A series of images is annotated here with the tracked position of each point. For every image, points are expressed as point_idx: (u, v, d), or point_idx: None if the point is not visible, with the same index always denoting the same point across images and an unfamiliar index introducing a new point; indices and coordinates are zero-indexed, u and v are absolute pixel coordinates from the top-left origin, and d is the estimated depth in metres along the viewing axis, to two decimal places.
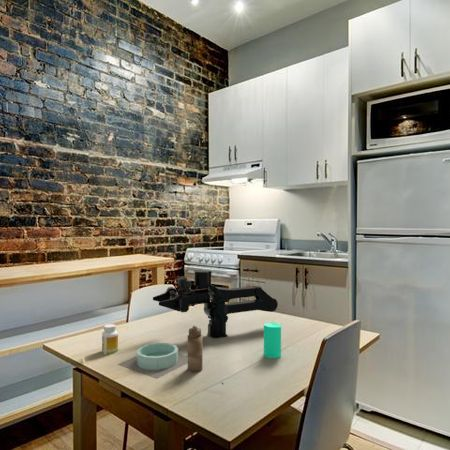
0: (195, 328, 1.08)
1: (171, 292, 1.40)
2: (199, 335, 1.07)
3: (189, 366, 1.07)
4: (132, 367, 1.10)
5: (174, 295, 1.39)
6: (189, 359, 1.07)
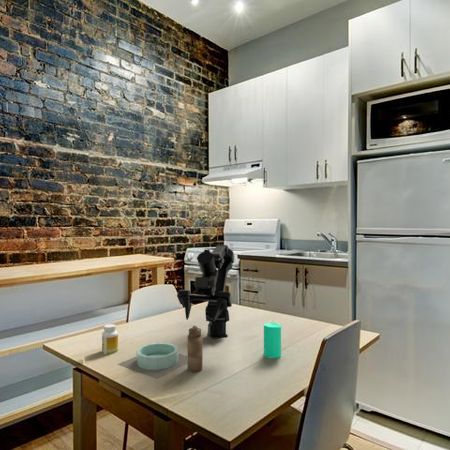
0: (195, 328, 1.08)
1: (188, 296, 1.21)
2: (199, 335, 1.07)
3: (189, 366, 1.07)
4: (132, 367, 1.10)
5: (192, 296, 1.22)
6: (189, 359, 1.07)
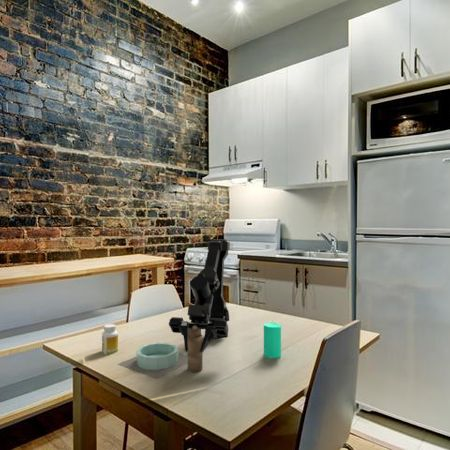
0: (195, 328, 1.08)
1: None
2: (199, 335, 1.07)
3: (189, 366, 1.07)
4: (132, 367, 1.10)
5: None
6: (189, 359, 1.07)
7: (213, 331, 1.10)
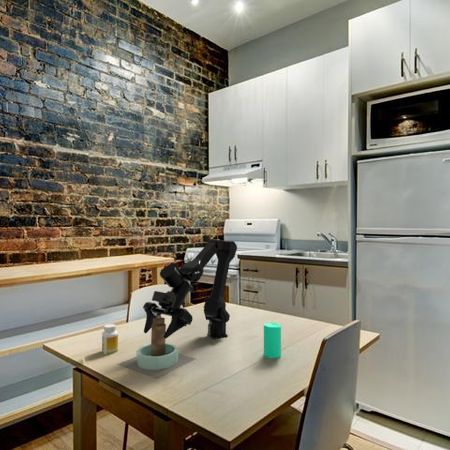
0: (158, 317, 1.14)
1: (152, 309, 1.20)
2: (160, 324, 1.14)
3: (151, 352, 1.14)
4: (132, 367, 1.10)
5: (157, 309, 1.21)
6: (151, 345, 1.14)
7: (179, 319, 1.12)
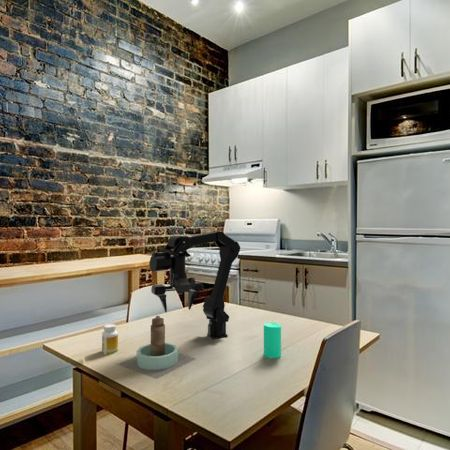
0: (157, 318, 1.14)
1: None
2: (159, 325, 1.13)
3: None
4: (132, 367, 1.10)
5: None
6: None
7: None
